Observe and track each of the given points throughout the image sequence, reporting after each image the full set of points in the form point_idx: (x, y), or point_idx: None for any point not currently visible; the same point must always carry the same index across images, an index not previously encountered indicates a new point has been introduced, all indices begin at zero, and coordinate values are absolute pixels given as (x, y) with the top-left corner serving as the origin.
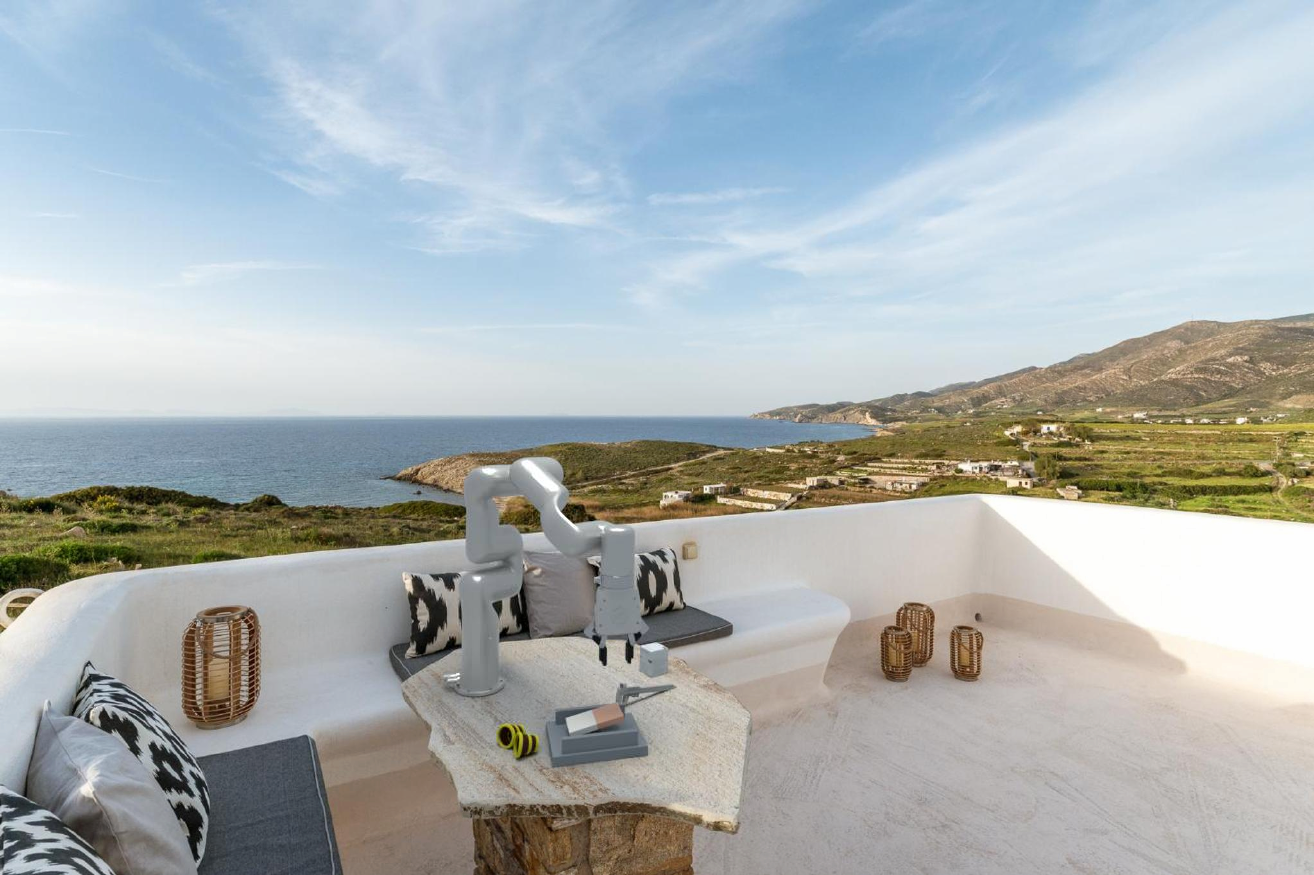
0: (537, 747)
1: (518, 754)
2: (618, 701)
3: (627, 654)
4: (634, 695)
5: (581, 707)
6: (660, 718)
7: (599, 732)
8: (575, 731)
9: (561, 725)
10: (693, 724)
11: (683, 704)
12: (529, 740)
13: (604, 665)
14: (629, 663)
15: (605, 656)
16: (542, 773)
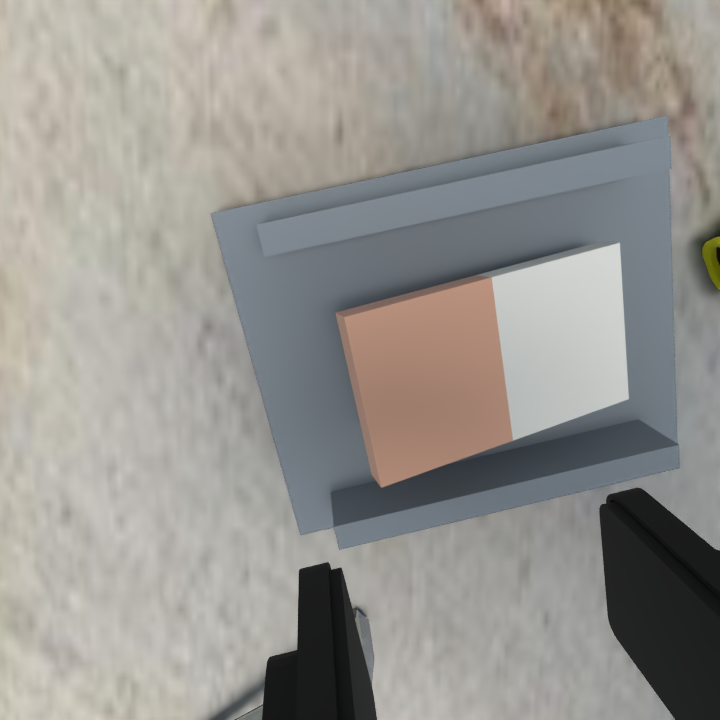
0: (717, 238)
1: None
2: (360, 632)
3: (357, 683)
4: None
5: (555, 489)
6: (168, 541)
7: None
8: (592, 249)
9: (614, 414)
10: (7, 494)
11: (66, 662)
12: None
13: (632, 490)
14: (321, 565)
15: (703, 563)
16: (682, 74)
